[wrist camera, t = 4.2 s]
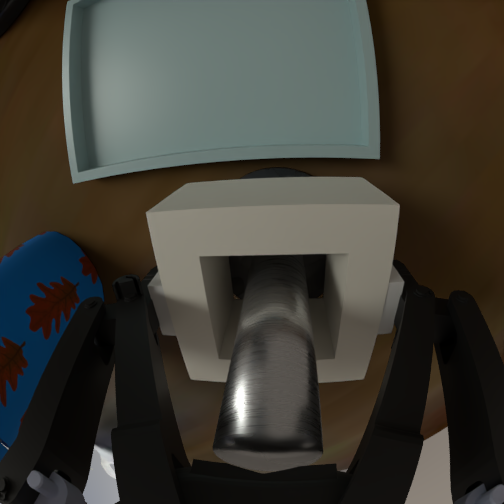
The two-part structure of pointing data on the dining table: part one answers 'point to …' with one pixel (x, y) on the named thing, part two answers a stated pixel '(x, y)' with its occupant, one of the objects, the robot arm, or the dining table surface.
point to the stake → (273, 360)
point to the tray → (216, 82)
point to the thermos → (36, 316)
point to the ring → (275, 243)
